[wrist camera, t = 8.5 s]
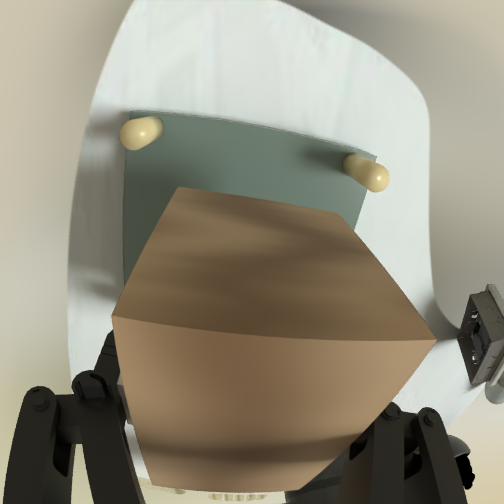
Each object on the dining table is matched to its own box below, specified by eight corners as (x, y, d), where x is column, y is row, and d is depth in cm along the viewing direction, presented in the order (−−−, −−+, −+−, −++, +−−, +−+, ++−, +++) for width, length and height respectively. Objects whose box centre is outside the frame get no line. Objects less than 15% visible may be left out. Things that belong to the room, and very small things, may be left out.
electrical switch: (474, 333, 31) (503, 382, 23) (445, 343, 32) (472, 397, 23) (491, 279, 26) (532, 329, 18) (460, 289, 27) (500, 345, 19)
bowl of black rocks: (370, 468, 54) (387, 528, 37) (395, 436, 44) (421, 513, 27) (435, 444, 54) (456, 497, 38) (468, 406, 44) (499, 469, 28)
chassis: (367, 152, 19) (403, 169, 15) (308, 326, 26) (320, 367, 22) (137, 110, 17) (109, 114, 12) (130, 305, 24) (115, 346, 20)
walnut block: (338, 213, 13) (437, 339, 6) (279, 375, 18) (298, 489, 11) (178, 186, 12) (111, 315, 5) (168, 364, 17) (152, 485, 10)
